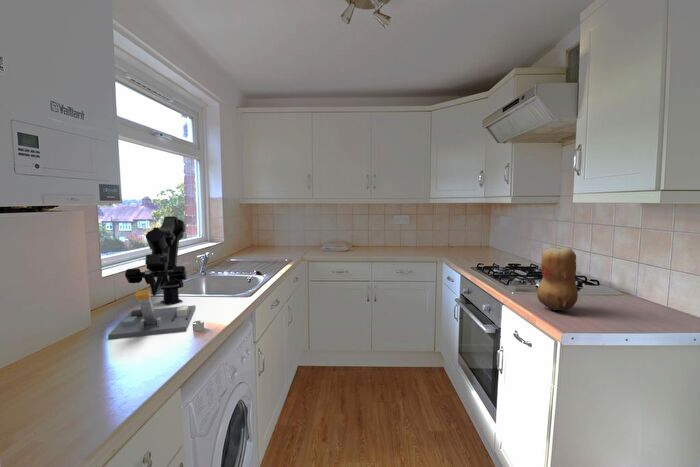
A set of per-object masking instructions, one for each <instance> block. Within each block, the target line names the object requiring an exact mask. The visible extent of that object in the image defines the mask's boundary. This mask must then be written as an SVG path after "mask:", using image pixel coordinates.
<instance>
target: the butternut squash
mask: <svg viewBox="0 0 700 467" xmlns="http://www.w3.org/2000/svg"><path fill="white" fill-rule="evenodd" d="M541 273H542V278H541V281H540V283H539V285H538V287H537V292H536V294H537V299H538V301H539V302H540V303H541V304H543V306H545V307H546V308H547V307H548V308H547V309H549V308H550V309H549V310H551V309H553V310H562V311H561V312H567V311H569V310H571V309H572V308H573V307H574V306H575V305H576V303H577V301H578V298H579V296H578V294H579V293H578V288H577V283H576V273H577V254H576V253H575V251H574V250H573V249H571V248H569V247H563V246H562V247H552V248H548V249H545V250H544V251H543V253H542V256H541ZM553 310H552V311H553Z"/></svg>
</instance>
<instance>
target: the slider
mask: <svg viewBox="0 0 700 467" xmlns="http://www.w3.org/2000/svg"><path fill="white" fill-rule="evenodd" d="M185 316H187V308H180V309H177V317H185Z"/></svg>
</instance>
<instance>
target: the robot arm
mask: <svg viewBox="0 0 700 467" xmlns="http://www.w3.org/2000/svg"><path fill="white" fill-rule="evenodd" d="M185 232H186V224H185V222H184V221H183V220H182V219H180V218H179V217H178V216H176V215H175V216H173V215H172V216H171V215H168V216H164V218H163V221H162V223H161V225H160V227H153V229H151V230H149V231H148V232H147V233H146V234H145V239H146V242H147V245H148V247H149V249H150V250H151V254H146V255H145V263H144V264H145V265H146V270H144V271H141V269H140V268H139V267H138V268H137V267H136V268H128V269H126V270H125V273H124V276H125V279H126V280H127V283H129V284H138V283H139V284H140V283H141V282H142V281H143V279H144V281H145V283H146V285H149V286H150V291H151V295H152V296H153V297H156V295H158V293H159V292H160V291H161V290H162V291H163V292H162V294H163V300H160V303H161V304H164V305H166V306H169V305H172V304H178V303H181V302H183V300H182V299H180V297H179V294H180V293H179V289H181V288H184V281H185V280H187V279H188V278H187V276H188V275H187V274H188V273H187V269H186V267H185V266H184V265H177V263H178V253H179V245H180V244H179V242H180V240H181V239H183V237H184V234H185ZM155 278H156V279H155Z"/></svg>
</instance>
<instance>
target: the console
mask: <svg viewBox="0 0 700 467" xmlns="http://www.w3.org/2000/svg"><path fill="white" fill-rule="evenodd" d="M180 308H187V316H185V317H177V309H180ZM153 309H154V312H155V316H156V319H157V325H152V326H144V318H143V314H142V311H141V308H140V309H139V308H138V309H135V310H134V309H133V310H131V311H130V312H129V313H128V314H127V315H126V316H125V318H123V320H121V321H120V322H119V323H118V324H117V325H116V326H115V327H114V329H112V330H111V332H110V333H108V335H107V336H108V340H116V339H118V340H119V339H126V338H134V337H136V338H137V337H143V336H153V335H154V336H155V335H163V334H171V333H180V332H187V330H188V328H189V325H190V323H191V321H192V319H193V317H194V314H195V311H196V305H179V306H173V307H164V308H163V307H161V308H153Z"/></svg>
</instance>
